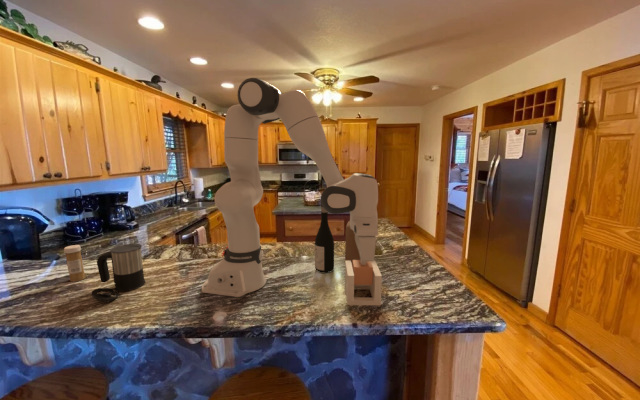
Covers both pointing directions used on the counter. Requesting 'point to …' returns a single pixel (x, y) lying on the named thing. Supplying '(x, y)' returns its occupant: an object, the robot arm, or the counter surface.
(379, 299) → the chute
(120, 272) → the milk frother
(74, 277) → the pill bottle
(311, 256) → the counter surface
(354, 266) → the block
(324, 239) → the wine bottle
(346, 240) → the wooden block
